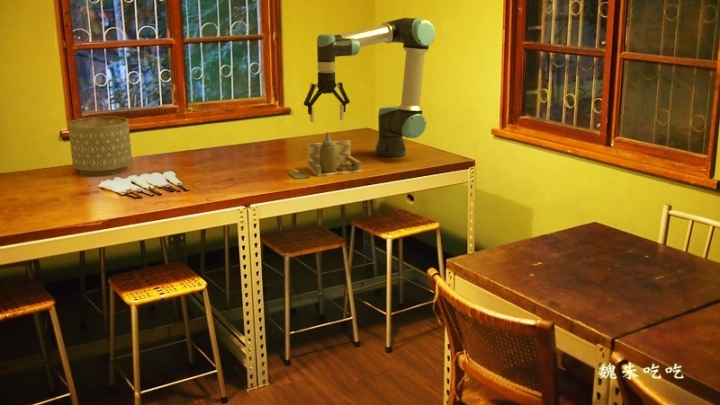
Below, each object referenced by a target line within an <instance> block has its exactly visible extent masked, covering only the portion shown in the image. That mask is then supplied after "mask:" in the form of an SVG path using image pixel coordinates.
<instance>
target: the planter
mask: <svg viewBox="0 0 720 405" xmlns="http://www.w3.org/2000/svg"><path fill="white" fill-rule="evenodd" d="M67 126H68V135H69V142H70V152H71V161H72V162H71V163H72V167H73V168H74V169H75V170H79V174H81V173H82V174H81V175H83V174H86V175H85V176H89V175H104V176H108V175H107V174H112V175H114V174H113V173H117V174H119V173H118V172H121V171H123V172H125V171H126V170H128V169H127V168H128V166H130V165H131V164H132V163H133V156H132V146H131V145H132V144H131V136H130V135H131V134H130V123H129V119H128V118H127V117H126V118H125V117H122V116H121V117H120V116H92V117H91V116H90V117H84V118H78V119H74V120H71V121H69V122H68V123H67ZM124 170H125V171H124ZM121 173H122V172H121Z"/></svg>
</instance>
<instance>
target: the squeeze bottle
mask: <svg viewBox="0 0 720 405" xmlns="http://www.w3.org/2000/svg"><path fill="white" fill-rule="evenodd" d="M333 142H334V140H331V135H330V133H329V132H326V133H325V138H324V140H322V143H323V145H322V146H321V148H320V160H319V165H320V166H321V173H323V174H327V173H336V171H337V170H336V169H337V158H336V149H335V146H334V145H333Z"/></svg>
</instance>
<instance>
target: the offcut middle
mask: <svg viewBox="0 0 720 405" xmlns="http://www.w3.org/2000/svg"><path fill="white" fill-rule="evenodd" d="M338 169H339V170H340V171H341V172H347V171H355V170H354V167H353V166H352V167H345V168H343V167H342V166H341V165H338Z"/></svg>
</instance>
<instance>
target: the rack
mask: <svg viewBox="0 0 720 405" xmlns="http://www.w3.org/2000/svg"><path fill="white" fill-rule="evenodd" d="M351 143H352V142H351V139H350V140H339V141H337V140H336V141H333V145H334V146H335V149H336V158H337V167H338V165H341V164H340V162H342V161H350V163H351V164H352V166H353V167H354V170H349V171H339V172H332V173H322V172H321V166H320V165H319V160H320V148H321V146H322V145H323V142H314V143H307V144H306V152H307V154H306V156H307V159H306V160H307V161H306V162H307V170H309V171H310V172H312V173H313V174H314V175H316V176H317V177H319V178H320V177H329V176H330V177H331V176H340V175H349V174H351V175H352V174H359V173H363V170H362V161H360V160H358V159H357V158H355V157H353V156H352V155H351V151H352V150H351V147H352V146H351ZM337 167H336V168H337Z"/></svg>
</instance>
